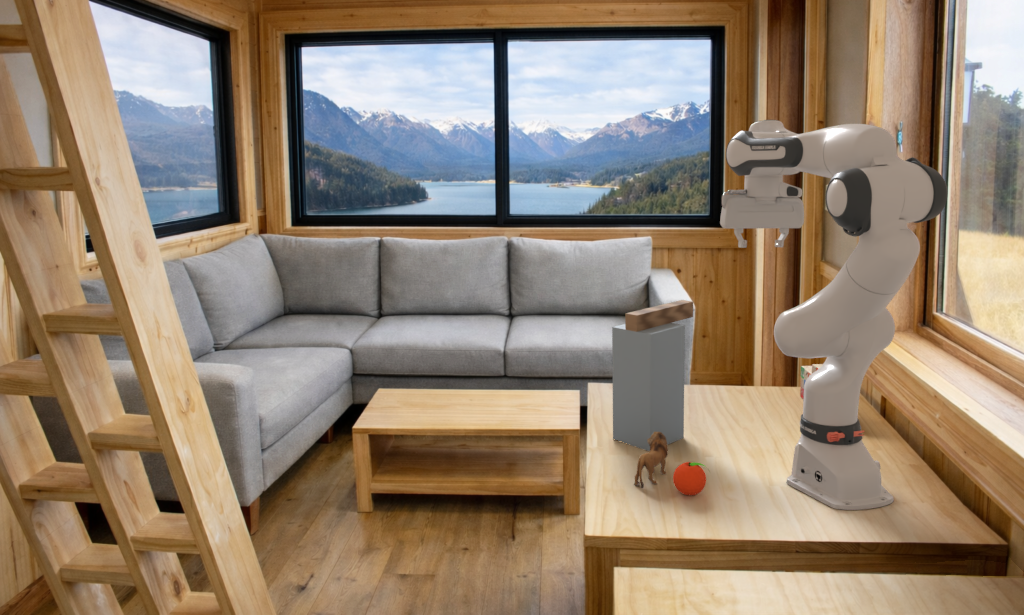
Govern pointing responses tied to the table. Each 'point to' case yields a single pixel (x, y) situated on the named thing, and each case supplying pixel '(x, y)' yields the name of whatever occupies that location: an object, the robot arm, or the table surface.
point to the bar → (658, 315)
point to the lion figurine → (653, 457)
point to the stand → (648, 383)
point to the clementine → (689, 478)
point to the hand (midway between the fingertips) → (760, 247)
